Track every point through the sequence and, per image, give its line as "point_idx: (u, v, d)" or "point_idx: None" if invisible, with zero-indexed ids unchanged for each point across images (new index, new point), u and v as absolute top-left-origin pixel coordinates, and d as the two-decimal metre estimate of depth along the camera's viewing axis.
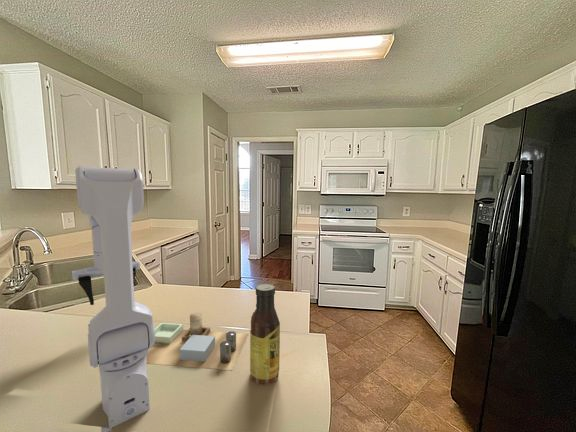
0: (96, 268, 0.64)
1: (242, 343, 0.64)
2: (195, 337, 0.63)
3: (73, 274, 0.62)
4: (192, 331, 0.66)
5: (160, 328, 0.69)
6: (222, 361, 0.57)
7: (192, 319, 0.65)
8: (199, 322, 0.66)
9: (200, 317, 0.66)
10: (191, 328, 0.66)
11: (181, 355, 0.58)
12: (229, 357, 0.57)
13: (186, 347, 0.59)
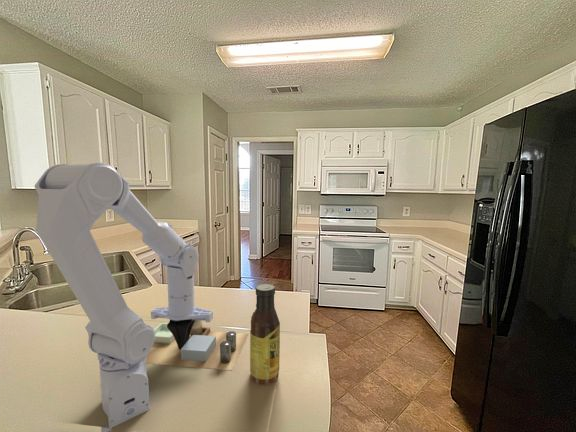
0: (168, 312, 0.59)
1: (242, 343, 0.64)
2: (196, 337, 0.63)
3: (151, 312, 0.60)
4: (192, 331, 0.66)
5: (160, 328, 0.69)
6: (222, 361, 0.57)
7: None
8: (199, 322, 0.66)
9: None
10: None
11: (182, 355, 0.58)
12: (229, 357, 0.57)
13: (187, 347, 0.59)
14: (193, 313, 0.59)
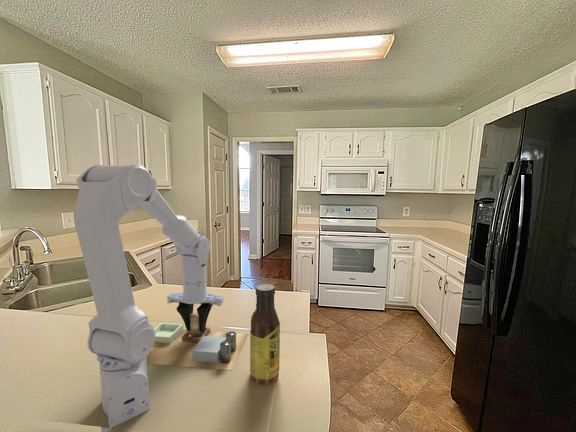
0: (183, 296, 0.65)
1: (242, 343, 0.64)
2: (207, 338, 0.62)
3: (167, 297, 0.66)
4: (192, 331, 0.66)
5: (160, 328, 0.69)
6: (222, 361, 0.57)
7: (192, 319, 0.65)
8: None
9: None
10: (191, 328, 0.66)
11: (193, 356, 0.58)
12: (229, 357, 0.57)
13: (198, 348, 0.58)
14: (205, 298, 0.65)
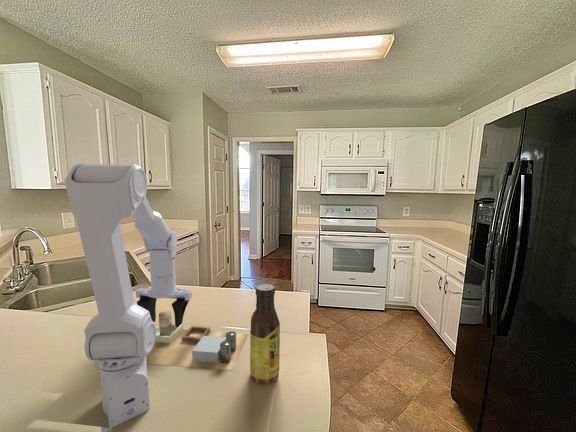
0: (151, 291, 0.65)
1: (242, 343, 0.64)
2: (207, 338, 0.62)
3: (136, 292, 0.66)
4: (161, 329, 0.66)
5: None
6: (222, 361, 0.57)
7: (160, 317, 0.65)
8: (167, 320, 0.66)
9: (169, 315, 0.66)
10: (160, 326, 0.66)
11: (193, 356, 0.58)
12: (229, 357, 0.57)
13: (198, 348, 0.58)
14: (173, 292, 0.65)
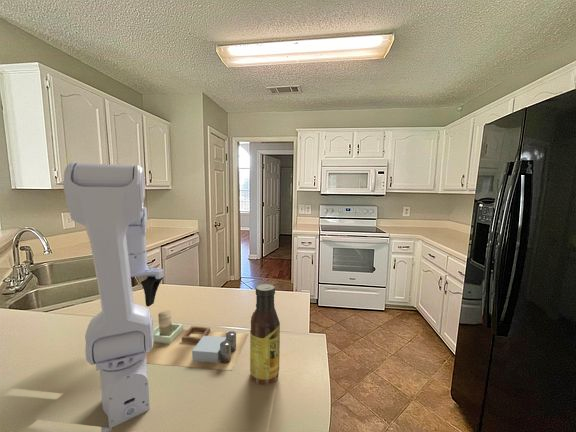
0: None
1: (242, 343, 0.64)
2: (207, 338, 0.62)
3: None
4: (161, 330, 0.66)
5: None
6: (222, 361, 0.57)
7: (160, 318, 0.65)
8: (167, 320, 0.66)
9: (168, 315, 0.66)
10: (160, 326, 0.66)
11: (193, 356, 0.58)
12: (229, 357, 0.57)
13: (198, 348, 0.58)
14: (144, 271, 0.63)
